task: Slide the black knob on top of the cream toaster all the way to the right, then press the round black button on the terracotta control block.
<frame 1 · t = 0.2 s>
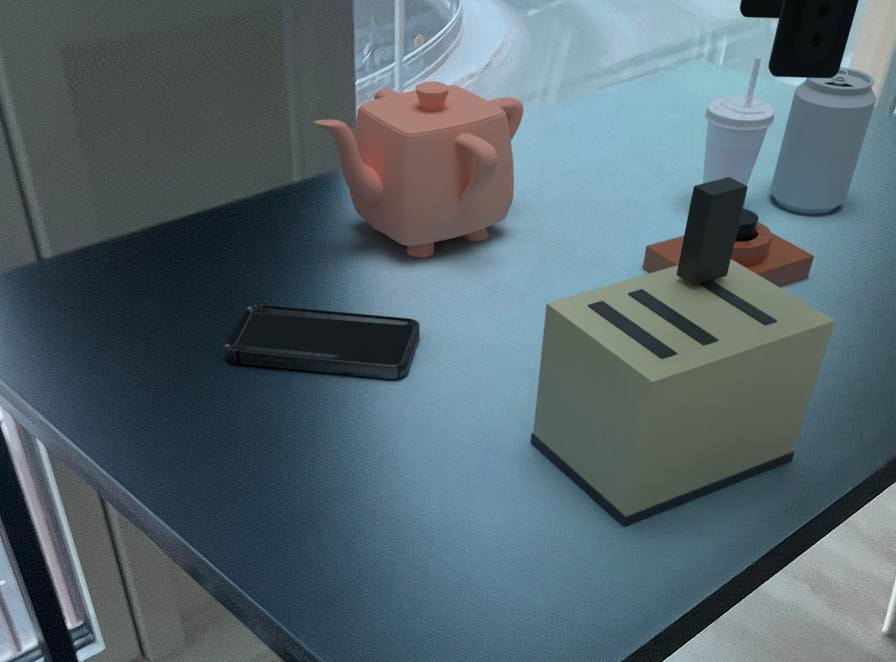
hand: (784, 43, 51), 27 cm above the table, tool pointing down, fingers open, 9 cm apart
teapot: (423, 234, 99), on the table
smoothie: (718, 211, 103), on the table
start button: (735, 225, 90), point 4 cm above the table, slide at 0.1 cm
can: (804, 204, 104), on the table
control block: (724, 273, 93), on the table
toaster slider: (710, 232, 66), point 14 cm above the table, slide at 0.0 cm
phone: (324, 349, 83), on the table
toaster: (659, 451, 73), on the table
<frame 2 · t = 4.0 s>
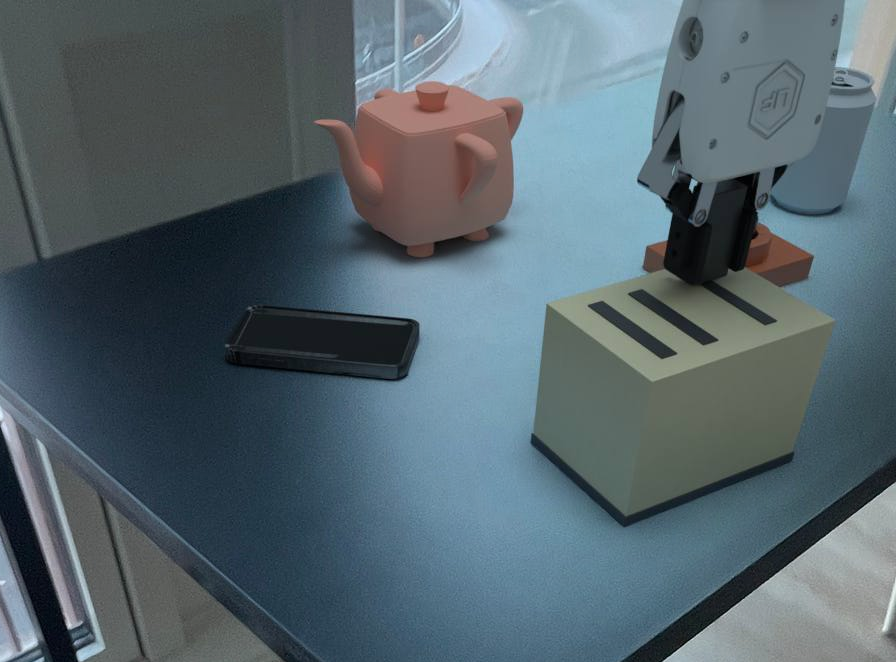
hand: (703, 267, 68), 12 cm above the table, tool pointing down, fingers closed on toaster slider, 3 cm apart
toaster slider: (710, 232, 66), point 14 cm above the table, slide at 0.0 cm, touching gripper
everything else where it was.
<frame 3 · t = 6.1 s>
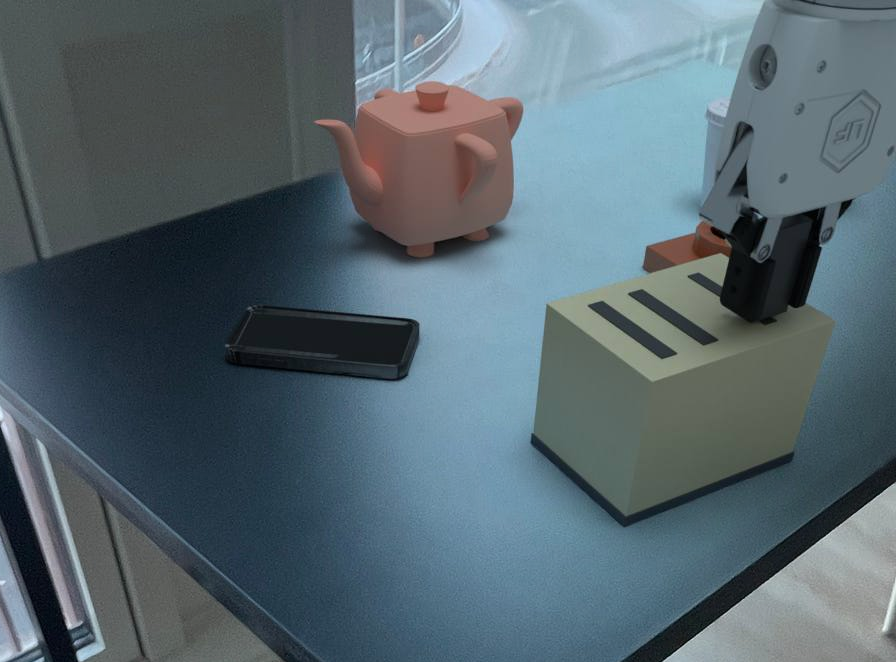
hand: (761, 303, 64), 12 cm above the table, tool pointing down, fingers closed on toaster slider, 3 cm apart
toaster slider: (771, 267, 63), point 14 cm above the table, slide at 5.7 cm, touching gripper
everything else where it was.
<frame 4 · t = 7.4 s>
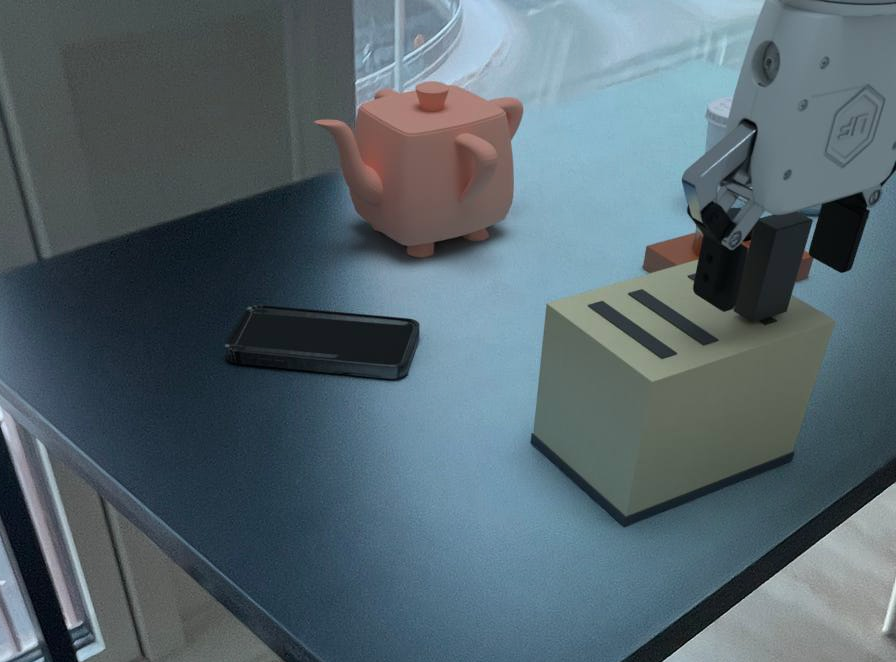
hand: (772, 282, 64), 13 cm above the table, tool pointing down, fingers open, 9 cm apart
toaster slider: (771, 267, 63), point 14 cm above the table, slide at 5.7 cm
everything else where it was.
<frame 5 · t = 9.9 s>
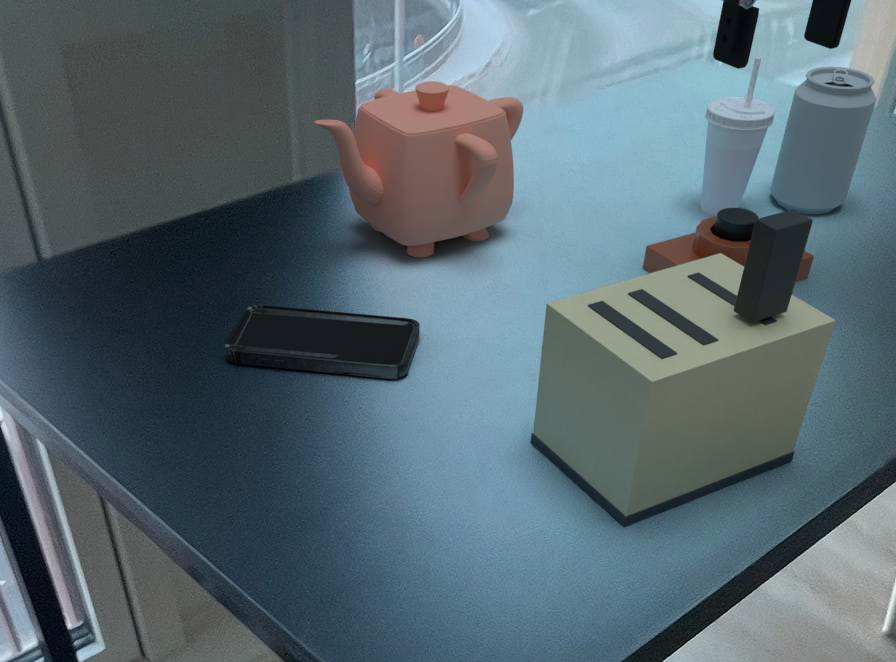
hand: (775, 53, 79), 19 cm above the table, tool pointing down, fingers open, 9 cm apart
nothing on the table moved.
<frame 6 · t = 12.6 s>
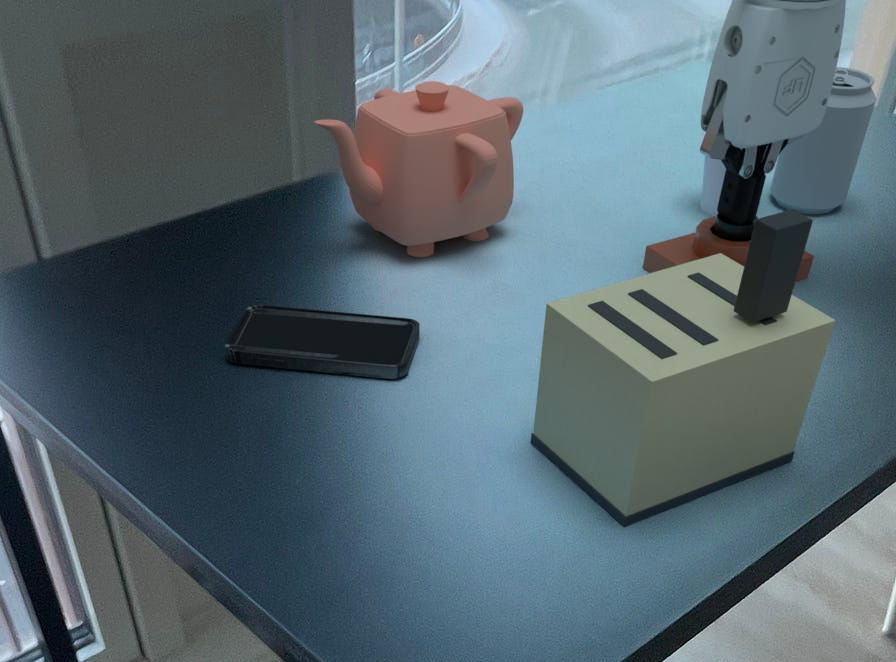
hand: (735, 216, 89), 5 cm above the table, tool pointing down, fingers closed
start button: (735, 227, 90), point 4 cm above the table, slide at 0.0 cm, touching gripper
everything else where it was.
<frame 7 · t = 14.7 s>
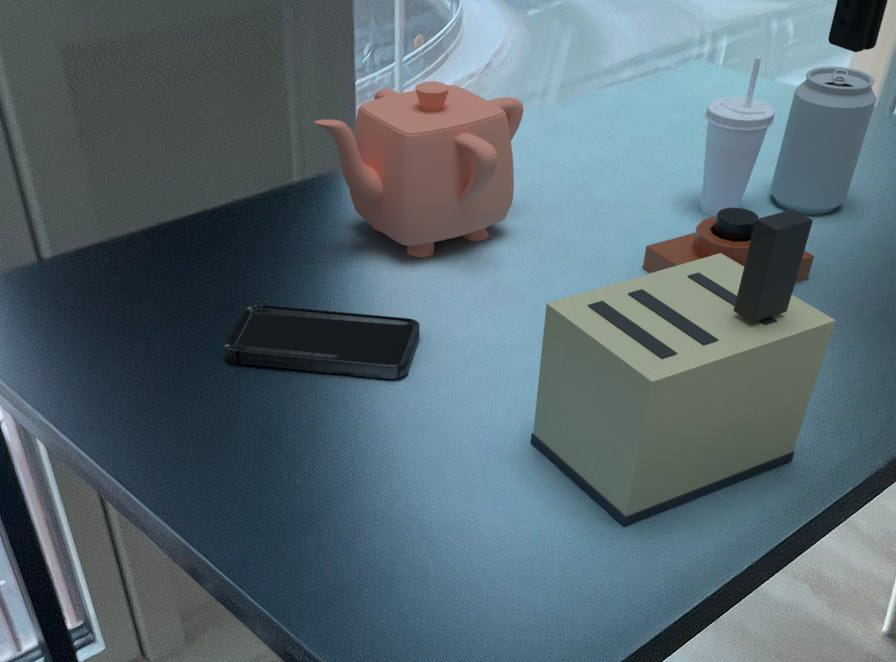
hand: (850, 45, 76), 20 cm above the table, tool pointing down, fingers closed
start button: (735, 225, 90), point 4 cm above the table, slide at 0.1 cm
everything else where it was.
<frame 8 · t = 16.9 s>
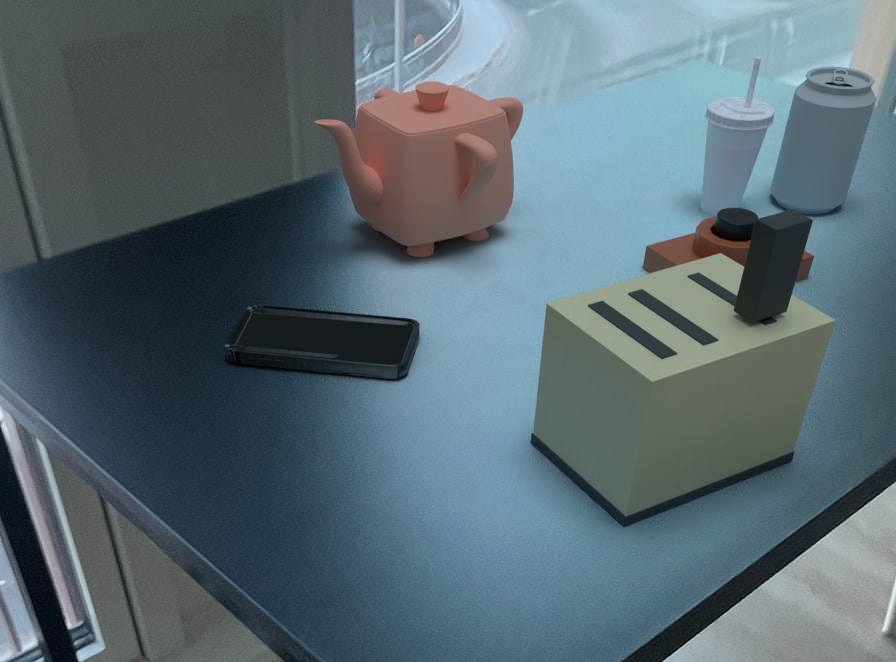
nothing on the table moved.
at the end: toaster slider slide at 5.7 cm; start button pushed in 1.1 cm at the most during the clip, back to where it started at the end; start button slide at 0.1 cm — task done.
